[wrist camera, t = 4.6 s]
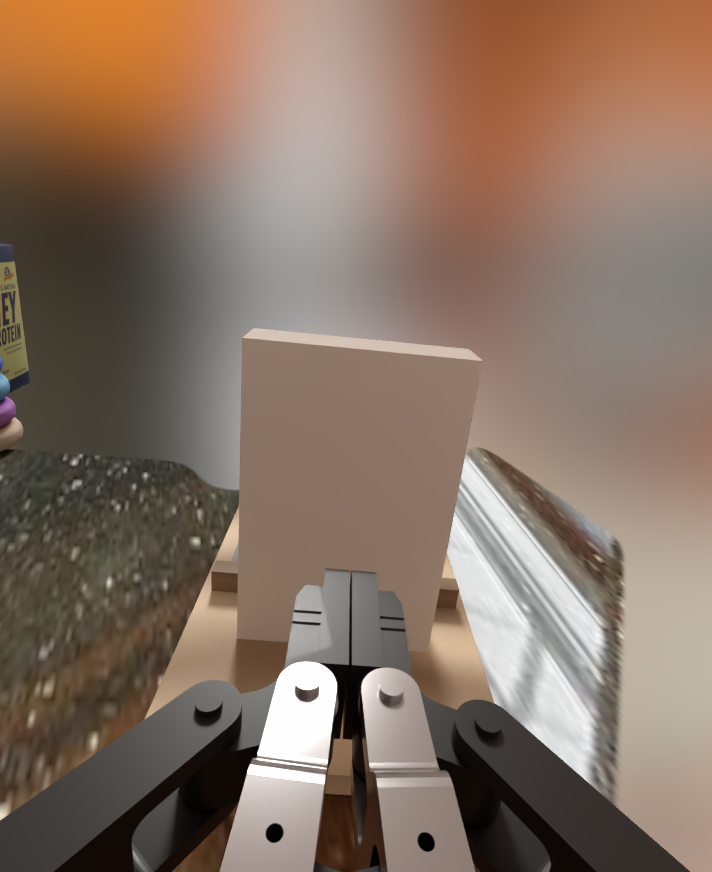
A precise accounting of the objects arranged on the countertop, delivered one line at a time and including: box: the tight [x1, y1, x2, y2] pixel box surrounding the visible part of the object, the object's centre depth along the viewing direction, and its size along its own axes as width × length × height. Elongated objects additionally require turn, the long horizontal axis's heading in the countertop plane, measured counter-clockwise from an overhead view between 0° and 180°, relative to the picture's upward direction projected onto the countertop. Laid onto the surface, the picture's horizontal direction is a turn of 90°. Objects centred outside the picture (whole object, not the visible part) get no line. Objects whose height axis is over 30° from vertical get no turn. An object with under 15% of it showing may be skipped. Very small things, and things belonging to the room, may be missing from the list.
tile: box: [237, 328, 483, 652], centre depth 22 cm, size 3×9×14 cm, turn 90°
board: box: [145, 507, 494, 795], centre depth 28 cm, size 22×14×2 cm, turn 1°
